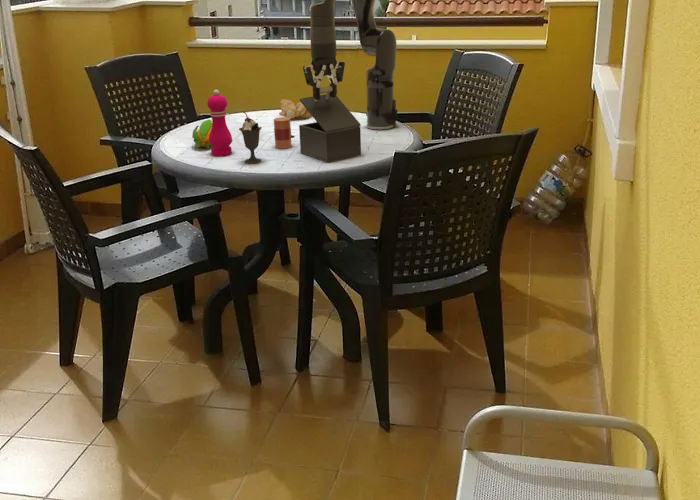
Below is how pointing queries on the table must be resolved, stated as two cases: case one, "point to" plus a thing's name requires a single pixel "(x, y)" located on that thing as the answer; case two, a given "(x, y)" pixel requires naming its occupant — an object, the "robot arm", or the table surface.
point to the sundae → (251, 137)
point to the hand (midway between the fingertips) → (325, 97)
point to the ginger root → (293, 109)
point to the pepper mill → (219, 126)
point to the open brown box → (329, 142)
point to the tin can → (282, 132)
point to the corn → (202, 134)
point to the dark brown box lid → (329, 111)
